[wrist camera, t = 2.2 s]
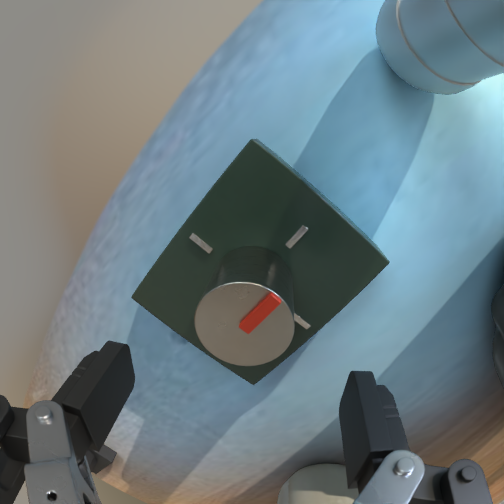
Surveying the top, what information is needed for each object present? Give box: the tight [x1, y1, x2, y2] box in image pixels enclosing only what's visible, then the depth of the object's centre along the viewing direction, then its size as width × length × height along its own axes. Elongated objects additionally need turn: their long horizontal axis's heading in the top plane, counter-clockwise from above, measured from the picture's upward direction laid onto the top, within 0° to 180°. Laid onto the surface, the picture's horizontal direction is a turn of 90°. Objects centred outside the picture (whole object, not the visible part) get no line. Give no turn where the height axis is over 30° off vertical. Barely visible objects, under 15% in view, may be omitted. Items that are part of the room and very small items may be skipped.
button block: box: [85, 444, 116, 474], centre depth 30 cm, size 9×7×4 cm
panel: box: [132, 139, 389, 385], centre depth 19 cm, size 12×10×3 cm
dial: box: [194, 246, 295, 366], centre depth 16 cm, size 4×4×5 cm
